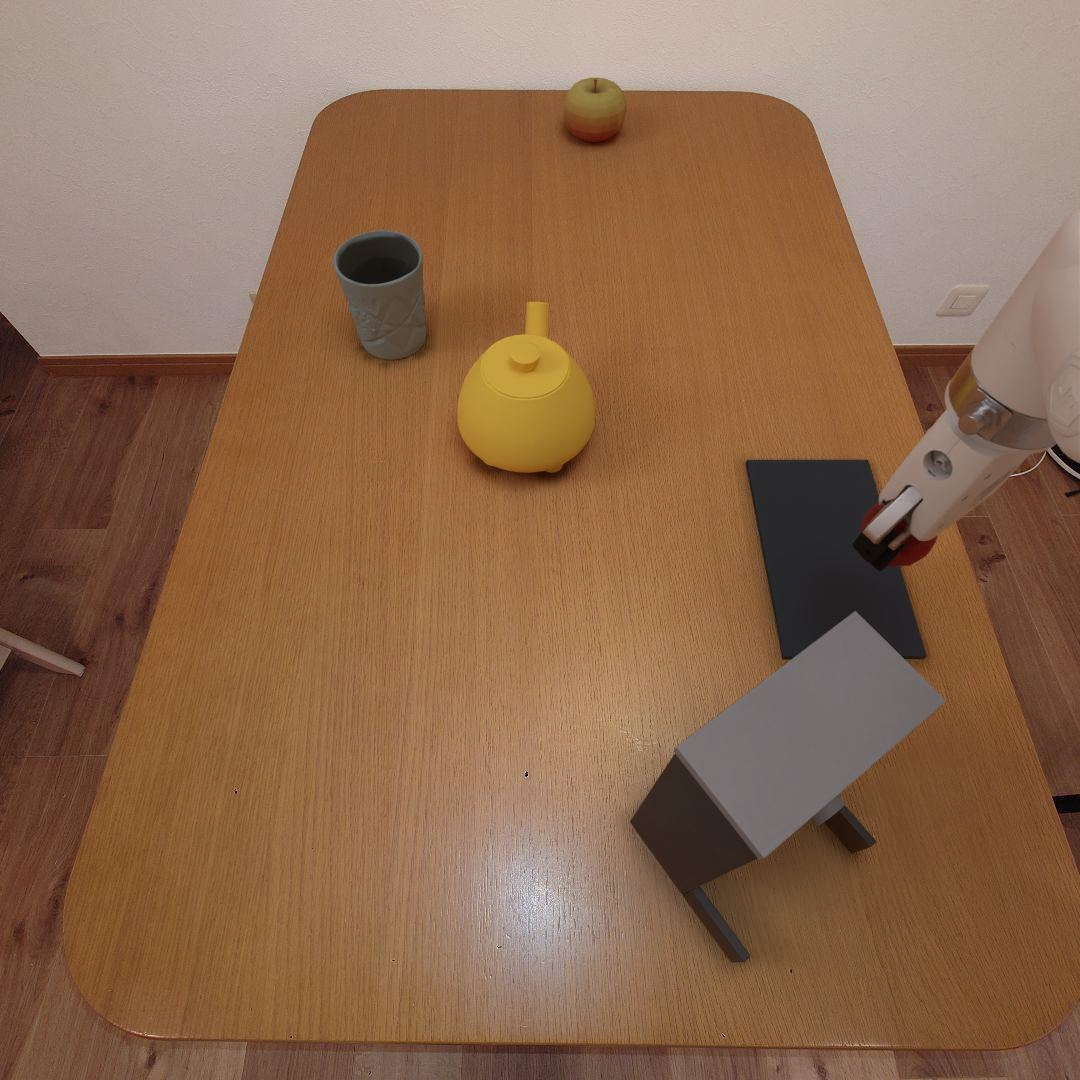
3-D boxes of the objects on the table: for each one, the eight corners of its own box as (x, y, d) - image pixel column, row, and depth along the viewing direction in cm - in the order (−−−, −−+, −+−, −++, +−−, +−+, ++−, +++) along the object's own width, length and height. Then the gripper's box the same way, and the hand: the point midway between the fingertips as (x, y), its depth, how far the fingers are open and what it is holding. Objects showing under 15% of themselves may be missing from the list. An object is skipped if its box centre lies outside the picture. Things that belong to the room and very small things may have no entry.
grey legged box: (859, 847, 61) (1033, 785, 40) (730, 964, 57) (848, 964, 36) (752, 724, 67) (855, 610, 45) (627, 821, 62) (675, 746, 41)
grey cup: (342, 352, 91) (317, 274, 81) (376, 300, 96) (357, 220, 86) (415, 371, 89) (399, 294, 79) (446, 318, 94) (435, 238, 84)
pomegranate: (911, 590, 62) (957, 543, 55) (843, 571, 63) (881, 523, 56) (915, 535, 65) (960, 485, 58) (851, 518, 66) (887, 466, 59)
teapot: (480, 355, 91) (471, 264, 79) (602, 368, 90) (611, 278, 78) (448, 483, 81) (433, 400, 69) (585, 498, 80) (594, 417, 68)
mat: (924, 658, 70) (927, 656, 70) (782, 658, 70) (784, 656, 70) (866, 462, 83) (868, 459, 82) (745, 462, 82) (746, 459, 82)
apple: (595, 110, 120) (598, 58, 113) (635, 135, 116) (642, 83, 109) (550, 131, 117) (551, 79, 110) (590, 158, 113) (594, 106, 106)
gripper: (978, 498, 42) (858, 623, 57) (1146, 373, 47) (994, 519, 62) (879, 416, 45) (791, 556, 60) (1046, 308, 50) (925, 462, 65)
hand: (895, 536), depth 61 cm, fingers closed on pomegranate, 5 cm apart
